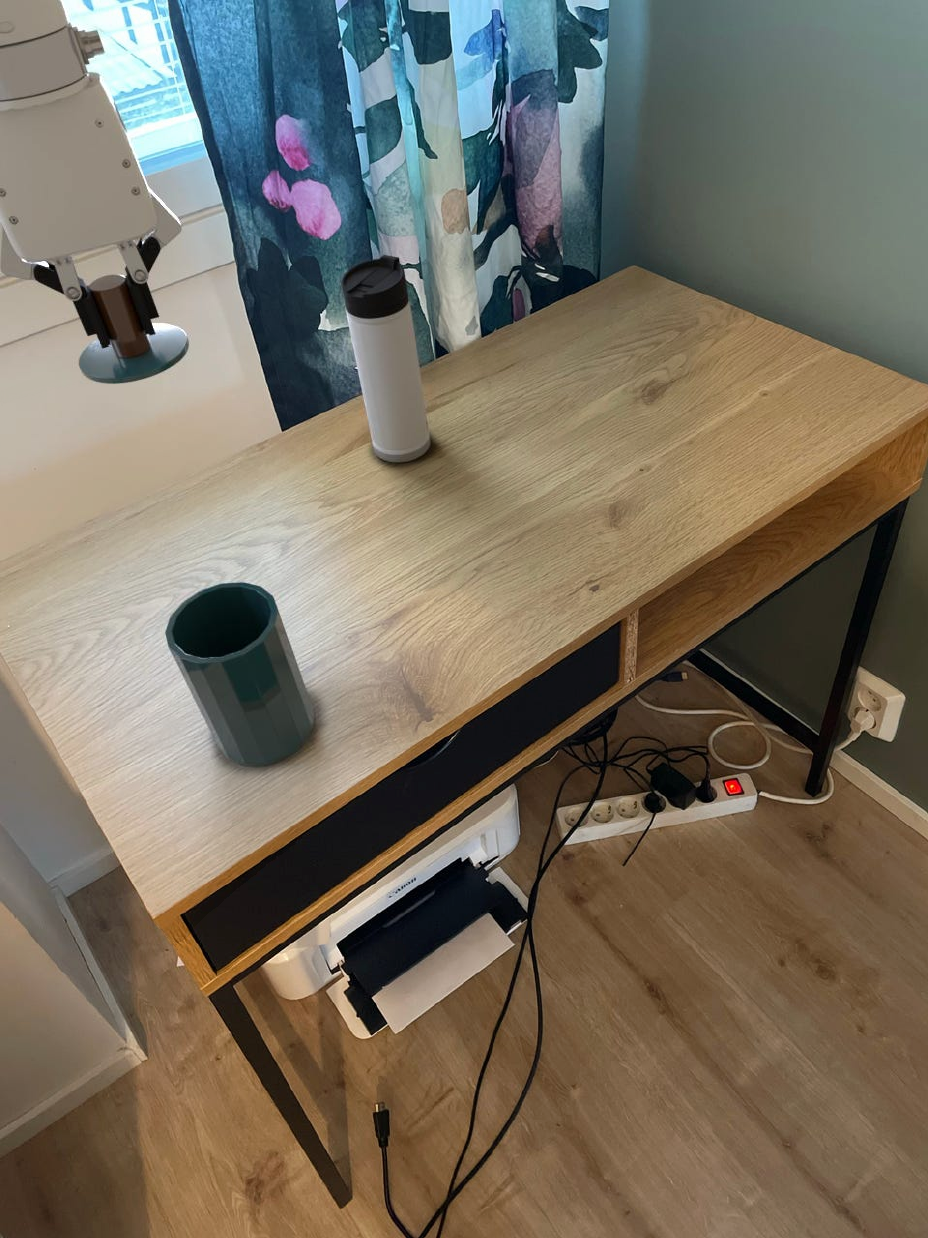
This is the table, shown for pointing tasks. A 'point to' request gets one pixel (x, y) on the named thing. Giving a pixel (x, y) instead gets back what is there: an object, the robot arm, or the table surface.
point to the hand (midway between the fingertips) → (126, 332)
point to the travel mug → (387, 357)
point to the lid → (128, 338)
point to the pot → (242, 672)
